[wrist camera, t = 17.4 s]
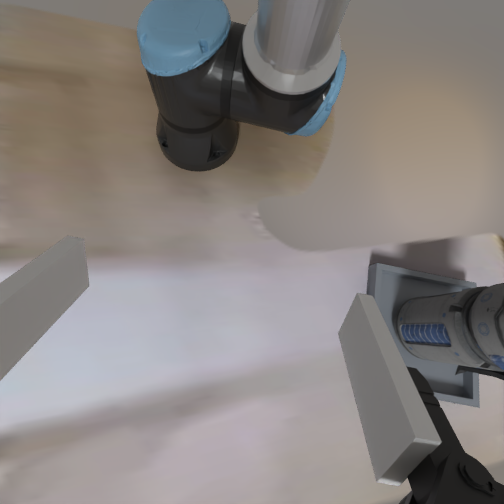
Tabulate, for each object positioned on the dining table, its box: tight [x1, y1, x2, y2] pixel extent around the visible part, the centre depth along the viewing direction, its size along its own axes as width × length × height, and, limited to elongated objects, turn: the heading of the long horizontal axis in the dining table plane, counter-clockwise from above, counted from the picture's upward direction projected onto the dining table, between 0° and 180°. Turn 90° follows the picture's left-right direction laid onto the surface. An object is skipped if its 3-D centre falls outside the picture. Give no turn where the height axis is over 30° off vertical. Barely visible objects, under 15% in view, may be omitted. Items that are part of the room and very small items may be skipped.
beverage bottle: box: [394, 283, 504, 380], centre depth 37 cm, size 10×13×25 cm
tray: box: [367, 263, 480, 408], centre depth 49 cm, size 20×18×3 cm
